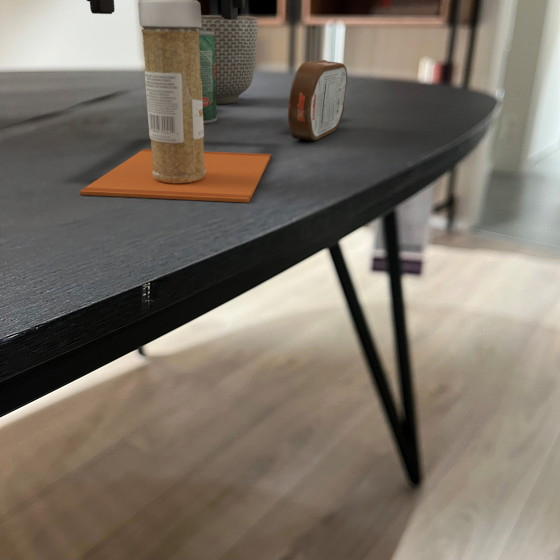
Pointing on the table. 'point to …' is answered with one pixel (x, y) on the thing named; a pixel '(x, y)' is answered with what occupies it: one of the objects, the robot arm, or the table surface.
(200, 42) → the canned tomato
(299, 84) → the tin
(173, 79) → the spice jar
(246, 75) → the planter
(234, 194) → the orange flat rectangular slab
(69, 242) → the table surface
